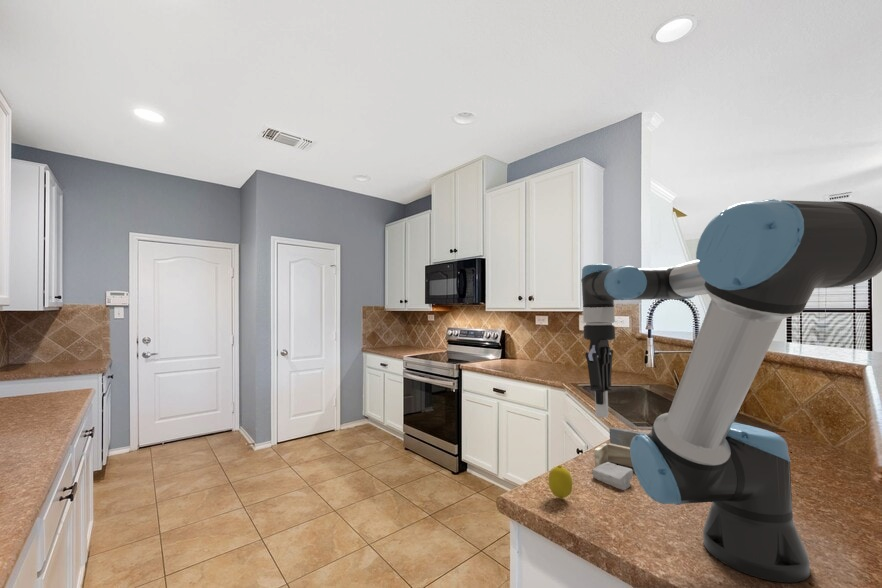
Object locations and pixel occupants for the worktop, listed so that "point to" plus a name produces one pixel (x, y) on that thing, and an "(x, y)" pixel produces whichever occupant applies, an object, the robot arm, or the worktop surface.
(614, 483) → the grey stone block
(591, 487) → the worktop surface
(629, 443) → the wall
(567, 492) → the lemon
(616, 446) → the cradle
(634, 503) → the worktop surface
